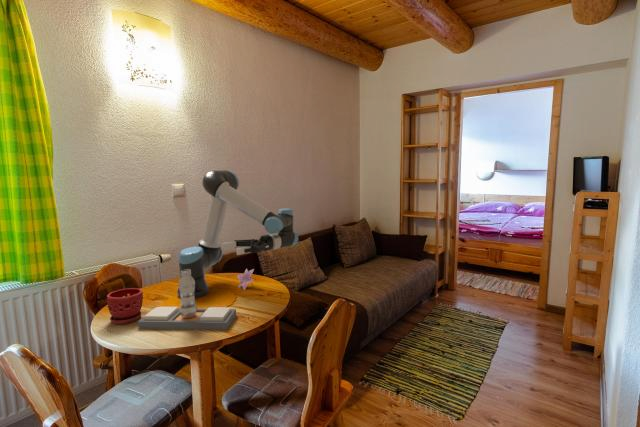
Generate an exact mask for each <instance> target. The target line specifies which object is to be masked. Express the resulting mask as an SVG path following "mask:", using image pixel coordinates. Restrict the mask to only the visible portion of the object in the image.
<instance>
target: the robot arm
mask: <svg viewBox="0 0 640 427" xmlns="http://www.w3.org/2000/svg"><path fill="white" fill-rule="evenodd" d="M239 180H240V179H239V178H238V176H237V174H236V173H234V172H233V171H230V170H228V169H227V170H226V169H225V170H223V169H222V170H209V171H208V172H206V173H204V175H203V178H202V182H201V183H202V187H203V189H204V191H206V193H208V195H210V196H211V200H210V203H209V204H210V205H209V210H208V213H207V218H206V223H205V227H204V231H203V236H202V238H201V239H200V240H198V246H190V247H186V248H183V249H182V250H181V251H179V254H178V263H179V266H178V267H179V280H180V279H181V277H182V276H181V271H182V270H185V269H190V270H191V277H192V278H193V279H194V281H195V289H194V297H195V299H198V298H202V297H205V296H206V295H208V294H209V293H210V290H209V289H210V288H209V284H208V283H207V280H206V277H205V270H206V269H207V268H210V267H211V266H215V265H217V263H219V262H220V261H221V259H222V257H223V250H227V249H236V255H237V256H240V255H246V254H250V253H252V254H258V253H261V252H262V251H263V252H267V251H271V250H274V251H276V250H277V249H282V248H288V247H289V248H290V247H293V246H296V245H297V244H298V242H299V235H298V233H297V232H296V231H295V230H294V217H295V216H294V210H293V209H292V208H280V209H278V210H277V214H276V213H274V212H273V211H271V210H269V209H268V208H266V207H265V206H263V205H261V204H260V203H258V202H257V201H255V200H253V199H251V198H250V197H249V196H247V195H245V194H243V193H242V192H241V191H239V190H238V189H239V185H240V181H239ZM228 205H230V206H232V207H233V208H234V209H236V210H238V211H240V213H243V214H244V215H245V216H247V217H249V218H250V219H253V221H255V222H257V223H259V224H261V225H262V226H263V227H264V229H265V230H266V232H267V233H269V234H265V235H261V236H260V237H259V239H255V238H252V239H251V238H249V239H235V240H233V241H230V242H228V241H227V242H222V243H221V242H220V239H221V234H222V230H223V226H224V221H225V217H226V213H227V208H228ZM237 247H238V248H237ZM177 297H178V298H179V299H181V296H180V290H179V286H178V288H177Z"/></svg>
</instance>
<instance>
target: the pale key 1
mask: <svg viewBox="0 0 640 427" xmlns="http://www.w3.org/2000/svg"><path fill="white" fill-rule="evenodd" d="M178 309H179V306H156V307H154V308H153V309H152V310H151V311H149V312H148V313H147V314H145V315H144V316H143V317H145V320H169V319H170V318H171V317H172V316H173V315H174V314H175V313H176V312H178Z"/></svg>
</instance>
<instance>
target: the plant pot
mask: <svg viewBox="0 0 640 427" xmlns="http://www.w3.org/2000/svg"><path fill="white" fill-rule="evenodd" d="M143 292H144V291H143V290H142V289H141V288H137V287H131V288H128V287H127V288H121V289H117V290H114V291H112V292H109V293H108V294H107V295H106V302H107V308H108V312H109V314H110V317H109V320H110V322H111V323H113V324H115V325H123V324H129V323H132V322H134V321H136V320H138V319H139V318H140V317H141V316H142V314H143V313H142V311H141V309H142V306H143V301H144V300H143V299H144V295H143V294H144V293H143Z"/></svg>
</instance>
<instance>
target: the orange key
mask: <svg viewBox="0 0 640 427" xmlns="http://www.w3.org/2000/svg"><path fill="white" fill-rule="evenodd" d="M202 313H203V312H197V313H196V315H195V316H194V317H191V318H183V317H182V316H181V314H180V315H179V316H178V317H177V318H176V319H175V320H182V321H196V320H197V319H198V318H199V317H200V315H201V314H202Z"/></svg>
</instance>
